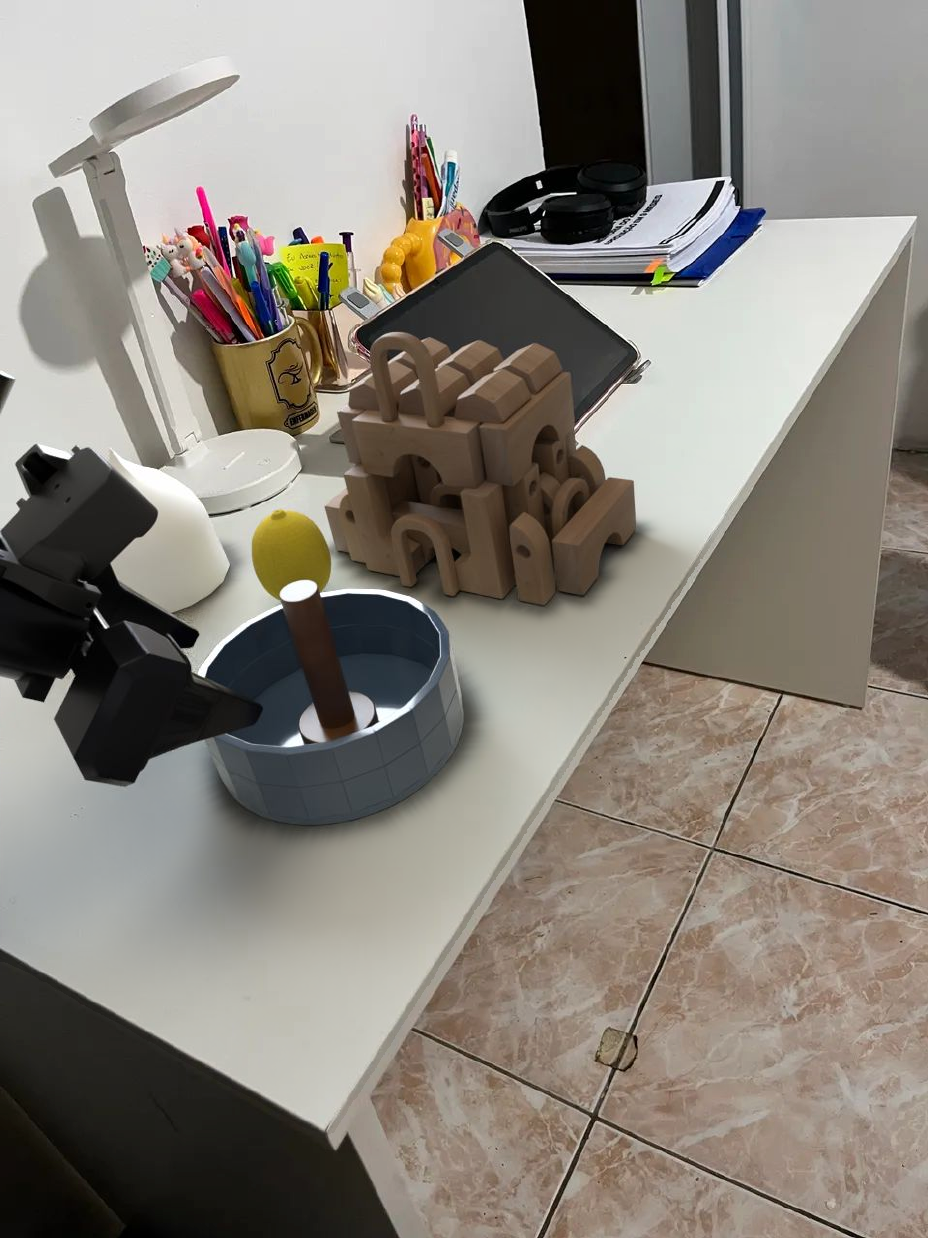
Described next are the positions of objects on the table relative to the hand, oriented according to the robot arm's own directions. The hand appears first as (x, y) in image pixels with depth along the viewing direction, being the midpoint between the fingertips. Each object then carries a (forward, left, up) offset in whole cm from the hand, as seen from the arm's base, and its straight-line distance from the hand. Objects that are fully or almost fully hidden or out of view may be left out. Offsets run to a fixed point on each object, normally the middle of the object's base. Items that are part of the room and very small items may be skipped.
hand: (225, 674), depth 52 cm
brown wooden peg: (+5, -2, -7) cm, 9 cm away
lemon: (+15, +10, -8) cm, 20 cm away
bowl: (+5, -2, -8) cm, 9 cm away
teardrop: (+13, +24, -8) cm, 28 cm away
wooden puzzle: (+27, +2, -8) cm, 28 cm away
